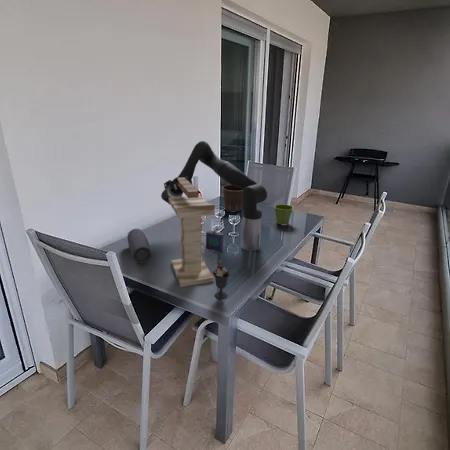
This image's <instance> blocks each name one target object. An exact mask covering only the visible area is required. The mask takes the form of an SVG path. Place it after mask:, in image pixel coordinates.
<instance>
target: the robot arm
mask: <svg viewBox="0 0 450 450" xmlns="http://www.w3.org/2000/svg"><path fill="white" fill-rule="evenodd" d="M198 162H200V163H202V164H203V165H205V166H207V167H208V168H209V169H211V170H212V171H213V172H214V173H215V174H216V175H217V176H218V177H219V178H220V179H222V180H223V181H225V182H226V183H227V184H228V185H234V186H237V187H240V188H242V189H244V190H243V193H242V211H241V212H242V214H243V216H242V230H241V231H242V233H241V248H242V249H243V251H247V252H255V250H259V251H260V245H261V234H262V230H261V229H262V219H263V218H262V217H263V216H262V213H263V212H262V211H261V210H260V209H258V207H257V205H258V204H260V203H264V202H265V201H266V199H267V198H268V192H267V189H266V188H265V187H264V186H263V184H261V183H259V182H258V181H255V180H254V179H252V178H251V177H249V176H248V175H247V174H245V173H244V172H242V171H241V170H240V169H238V167H237V166H235V165H234V164H232V162H230V161H227V160H224V159H221V158H220V157H218V156H217V154H215V152H214V150H213V149H212V147H211V146H210V144H209V143H208V142H207V141H205V140H201V141H198V143H196V144H195V146H193V149H192V151H191V153H190V155H189V157H188V158H187V161H186V163H185V164H184V167H183V168H182V170H181V171H180V173H179V175H177V177H175V178H173V179H172V180H171V179H169V180H167V181H165V182H164V183H163V186H164V187H163V190H162V192H161V195H160V197H161V199H162V201H164V202H166V203H167V204H168V205H170V203H169V198H174V197H183V194H184V192H183V191H182V190H181V189H180V188H179V186H178V185H177V183H178V177H185V178H186V179H187V180H188V181H189V182H190V183H191V184H192V185H193V176H194V173H195V170H196V166H197V164H198ZM193 186H194V185H193Z"/></svg>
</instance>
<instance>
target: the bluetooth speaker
mask: <svg viewBox="0 0 450 450" xmlns="http://www.w3.org/2000/svg"><path fill="white" fill-rule="evenodd" d="M127 243H128V248H129V252H130V254H131V257H132V259H133V260H134V261H135V262H136V263H137V264H145V263H147V262H149V261H150V259H151V258H152V250H151V245H150V243H149V241H148V238H147V236H146V234H145V233H144V231H142V229H140V228H134V229H133V228H132V229H130V230H129V232H128V234H127Z"/></svg>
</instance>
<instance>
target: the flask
mask: <svg viewBox="0 0 450 450" xmlns="http://www.w3.org/2000/svg"><path fill="white" fill-rule="evenodd" d="M205 234H206V235H205V248H206V249H207V250H211V251H218V252H221V251H224V236H225V235H224V233H223V232H217V229H213V231H211V230H209V231H206V232H205Z"/></svg>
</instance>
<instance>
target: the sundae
mask: <svg viewBox="0 0 450 450" xmlns="http://www.w3.org/2000/svg"><path fill="white" fill-rule="evenodd" d="M215 261H216V262H217V263H218V265H217V266H216V268H215V269H214V271H212V276H213V278H214V281H215V285H216V287H217V288H218V289H219V291H217V292H215V294H214V297H215V298H216V299H218V300H223V299H227V297H228V294H227V292H225V291H223V289H224V288H226V286H227V283H228V279H229V278H230V275H231V272H230V271H229V270H227V269H226V268H225V266H223V265H220V264H221V263H220V262H219V261H218V259H217V260H215Z"/></svg>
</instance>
